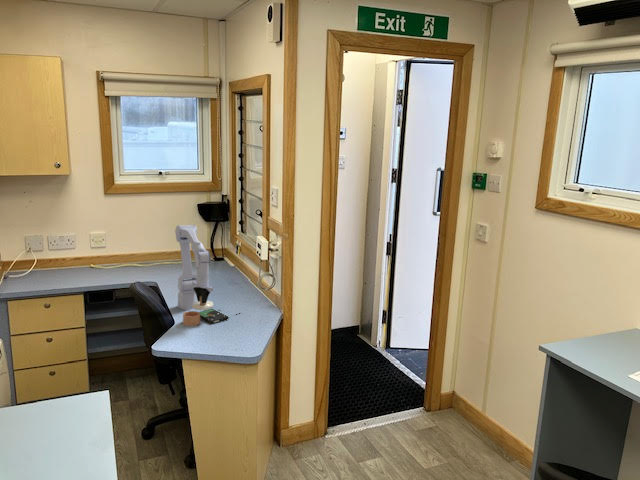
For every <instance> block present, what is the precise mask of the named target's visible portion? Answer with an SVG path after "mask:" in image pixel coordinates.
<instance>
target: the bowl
mask: <svg viewBox="0 0 640 480" xmlns="http://www.w3.org/2000/svg"><path fill="white" fill-rule="evenodd" d="M199 312H200V311H196V310H195V311H194V310H192V311H191V310H188V311H185V312H184V313H182V323H183V325H184V326H188V327H193V326H194V327H195V326H197V325H200V323H201V319H200V313H199Z"/></svg>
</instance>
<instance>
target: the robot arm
mask: <svg viewBox="0 0 640 480" xmlns="http://www.w3.org/2000/svg"><path fill="white" fill-rule="evenodd" d="M197 236H198V227H197V225H195V224H184V225H181V224H180V225H179V224H178V225H176V228H175V239H176V242H178V243H179V246H180V247H179V248H180V256H181V264H182V274H181V275H180V276H179V277H178V278H177V281H178V282H177V287H178V293H177V305H176V308H179V309H182V310H184V311H185V312H188V311H191V310H192V311H193V310H195V309H194V308H193V304H194V303H196V302H199V301H200V298H199V297H200V296H201V297H202V303H206V302H207V301H208V299H209V296H210V294H211V292H214V287H213V286H211V285H210V284H209V269H210V268H209V263H211V260H212V258H211V257H212V256H211V252H210V251H209V250H206V249H205V246H204V244H203V243H202V242H201V241H199V239H198V237H197ZM190 244H191V245H190ZM191 251H192V253H193V255H194V262H195V268H196V274H195V273H194V272H193V265H192V256H191V255H192V254H191ZM196 300H197V301H196Z"/></svg>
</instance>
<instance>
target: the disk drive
mask: <svg viewBox="0 0 640 480" xmlns="http://www.w3.org/2000/svg"><path fill="white" fill-rule="evenodd" d="M216 310H217V309H214V308H210V309H206V310H200V311H198V312H199V313H200V320H202V321H205V323H208V324H211V325H215V324H218V323H221V321H222V322H225V321H224V320H226V321H228V320H229V317H228V316H226V315H224V314H222V313H220V312H218V311H216ZM227 319H228V320H227Z"/></svg>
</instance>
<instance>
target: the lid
mask: <svg viewBox="0 0 640 480" xmlns="http://www.w3.org/2000/svg"><path fill="white" fill-rule="evenodd" d="M199 298H200V301H199V302H198V301H196V303H194V304H193V308H194V309H193V310H197V311H203V310H208V309H213V307H214V302H213V301H211V300H207V302H206V303H202V297H201V296H200V297H199Z"/></svg>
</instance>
